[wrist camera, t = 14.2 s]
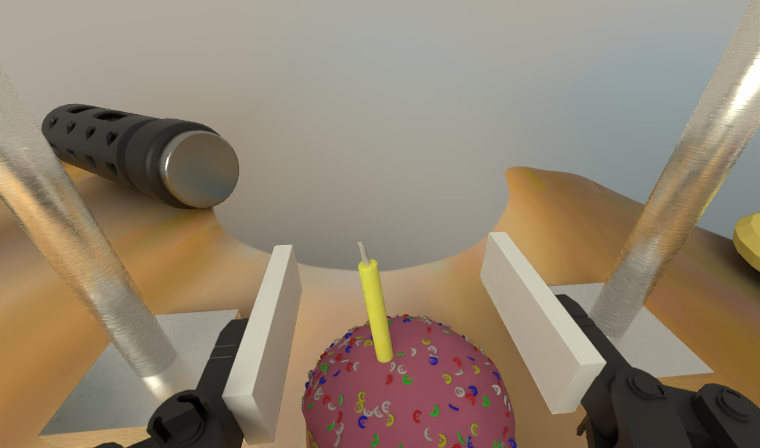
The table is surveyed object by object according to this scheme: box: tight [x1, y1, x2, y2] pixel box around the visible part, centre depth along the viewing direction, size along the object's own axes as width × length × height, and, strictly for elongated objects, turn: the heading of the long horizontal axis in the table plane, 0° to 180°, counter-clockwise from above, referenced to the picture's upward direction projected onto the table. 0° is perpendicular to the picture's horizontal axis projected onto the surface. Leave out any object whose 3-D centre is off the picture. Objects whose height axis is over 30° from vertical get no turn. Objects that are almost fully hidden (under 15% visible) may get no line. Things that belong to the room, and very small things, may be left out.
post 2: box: [548, 0, 760, 404], centre depth 13 cm, size 7×7×26 cm
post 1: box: [0, 65, 242, 448], centre depth 11 cm, size 7×7×26 cm
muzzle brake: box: [41, 104, 239, 209], centre depth 38 cm, size 10×28×10 cm, turn 61°
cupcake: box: [302, 241, 517, 448], centre depth 12 cm, size 9×8×12 cm
